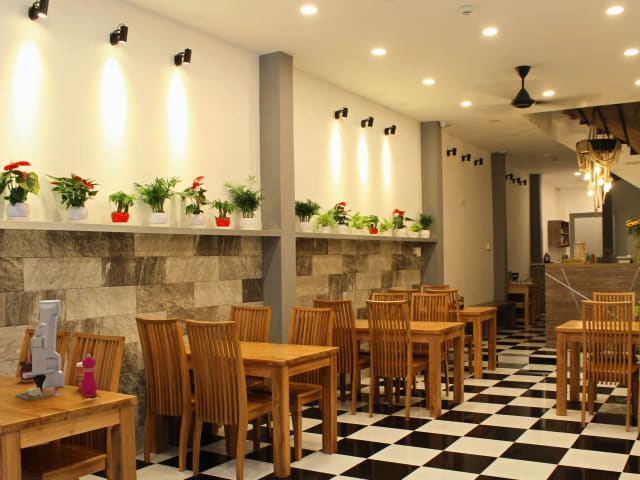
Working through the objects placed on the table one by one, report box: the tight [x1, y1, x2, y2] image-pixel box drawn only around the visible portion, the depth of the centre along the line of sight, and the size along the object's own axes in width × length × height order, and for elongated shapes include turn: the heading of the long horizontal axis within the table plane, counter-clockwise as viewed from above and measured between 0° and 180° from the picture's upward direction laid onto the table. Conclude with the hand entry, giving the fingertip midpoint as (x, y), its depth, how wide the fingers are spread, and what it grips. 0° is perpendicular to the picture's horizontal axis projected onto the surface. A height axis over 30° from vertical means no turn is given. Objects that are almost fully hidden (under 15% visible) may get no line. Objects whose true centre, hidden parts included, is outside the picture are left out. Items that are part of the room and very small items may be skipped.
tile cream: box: [27, 386, 42, 397], centre depth 320 cm, size 4×4×3 cm
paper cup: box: [76, 361, 84, 391], centre depth 334 cm, size 8×8×14 cm
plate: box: [37, 391, 64, 398], centre depth 322 cm, size 10×14×2 cm
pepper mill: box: [80, 353, 99, 400], centre depth 319 cm, size 7×7×20 cm
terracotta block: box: [42, 388, 56, 397], centre depth 319 cm, size 4×4×3 cm
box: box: [15, 391, 46, 401], centre depth 316 cm, size 7×14×2 cm, turn 47°
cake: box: [18, 346, 40, 383], centre depth 369 cm, size 11×9×18 cm
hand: (39, 391), depth 322 cm, fingers closed, pressing on tile cream
